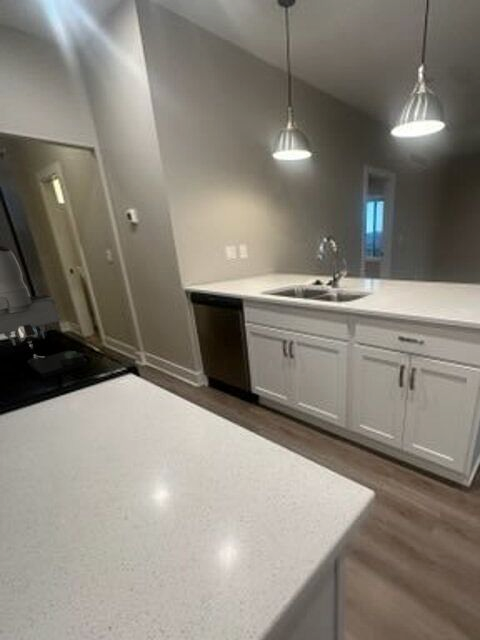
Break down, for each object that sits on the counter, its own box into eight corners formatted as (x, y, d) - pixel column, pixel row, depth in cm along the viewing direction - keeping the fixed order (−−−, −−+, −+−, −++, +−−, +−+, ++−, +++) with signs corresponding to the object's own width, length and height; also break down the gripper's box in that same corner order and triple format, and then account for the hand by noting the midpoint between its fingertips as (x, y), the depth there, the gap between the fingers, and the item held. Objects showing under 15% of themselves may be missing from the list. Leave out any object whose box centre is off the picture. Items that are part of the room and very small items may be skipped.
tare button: (67, 360, 104) (66, 355, 104) (64, 358, 106) (62, 353, 106) (79, 357, 106) (77, 352, 106) (75, 354, 108) (74, 350, 108)
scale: (44, 378, 99) (40, 368, 98) (28, 365, 109) (25, 357, 108) (88, 364, 108) (85, 355, 106) (70, 353, 117) (68, 345, 116)
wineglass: (50, 357, 115) (37, 322, 111) (31, 363, 111) (16, 328, 106) (41, 354, 118) (28, 321, 113) (22, 360, 114) (8, 326, 109)
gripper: (48, 292, 116) (62, 331, 121) (-31, 305, 102) (-12, 349, 107) (54, 294, 112) (68, 334, 117) (-27, 308, 98) (-8, 353, 103)
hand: (29, 341), depth 112 cm, fingers closed on wineglass, 5 cm apart
